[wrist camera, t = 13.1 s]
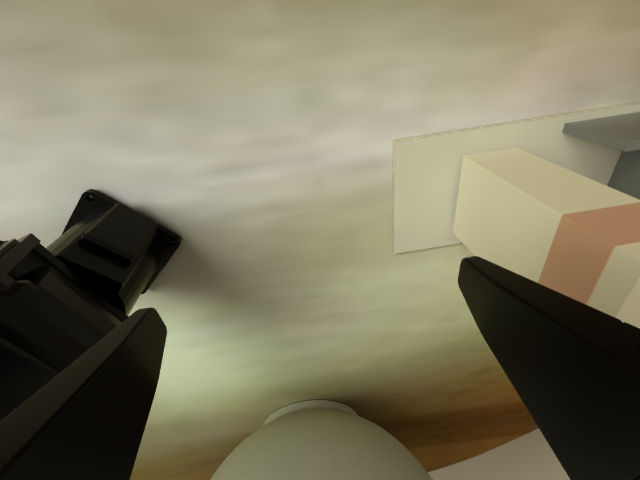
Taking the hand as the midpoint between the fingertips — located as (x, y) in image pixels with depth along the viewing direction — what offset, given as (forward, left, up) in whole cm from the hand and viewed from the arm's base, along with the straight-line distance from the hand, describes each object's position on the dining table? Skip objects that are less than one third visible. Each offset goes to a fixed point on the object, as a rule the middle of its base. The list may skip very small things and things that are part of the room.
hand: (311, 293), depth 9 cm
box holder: (+8, -13, -13) cm, 20 cm away
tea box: (+7, -12, -13) cm, 19 cm away
